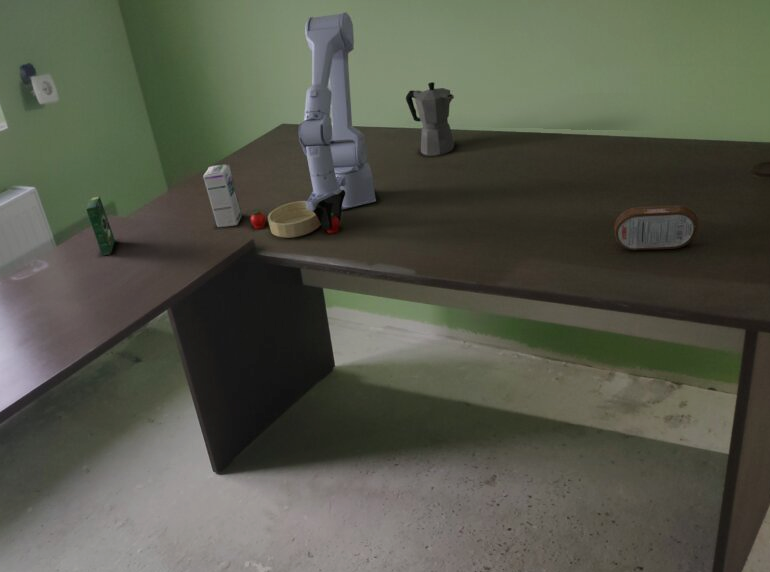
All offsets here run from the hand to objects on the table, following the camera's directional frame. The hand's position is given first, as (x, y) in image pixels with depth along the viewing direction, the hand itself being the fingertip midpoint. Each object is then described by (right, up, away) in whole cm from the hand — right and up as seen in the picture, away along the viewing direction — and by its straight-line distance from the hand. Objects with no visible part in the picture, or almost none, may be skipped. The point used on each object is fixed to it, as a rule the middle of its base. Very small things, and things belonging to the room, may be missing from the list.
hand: (331, 225), depth 209 cm
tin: (+62, -13, -37) cm, 73 cm away
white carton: (-26, +5, +19) cm, 32 cm away
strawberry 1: (-18, +3, +12) cm, 21 cm away
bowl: (-8, +1, +7) cm, 11 cm away
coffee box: (-58, -1, +22) cm, 62 cm away
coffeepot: (+30, +28, +29) cm, 50 cm away
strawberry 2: (0, -1, +1) cm, 1 cm away
